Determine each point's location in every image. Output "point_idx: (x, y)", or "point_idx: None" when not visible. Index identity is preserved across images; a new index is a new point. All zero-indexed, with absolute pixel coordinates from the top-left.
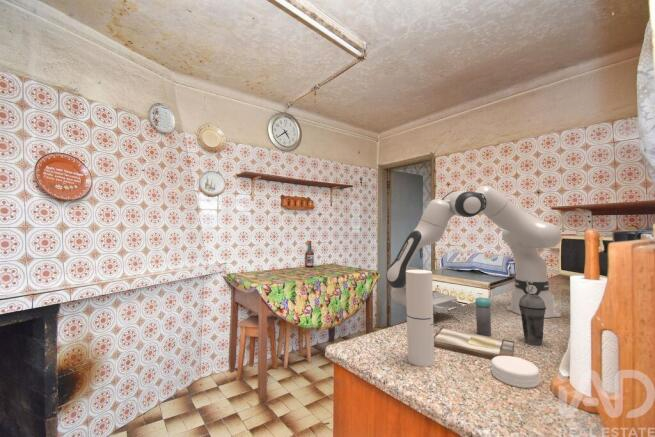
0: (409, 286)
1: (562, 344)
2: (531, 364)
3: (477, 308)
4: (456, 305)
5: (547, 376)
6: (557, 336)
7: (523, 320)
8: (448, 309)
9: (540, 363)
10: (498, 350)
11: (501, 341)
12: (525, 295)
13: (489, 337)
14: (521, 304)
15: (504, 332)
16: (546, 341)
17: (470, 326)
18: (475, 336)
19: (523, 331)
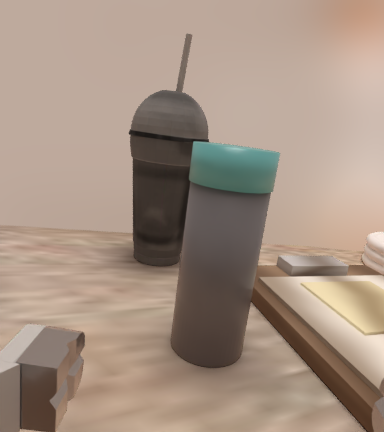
0: None
1: (116, 232)
2: (377, 234)
3: (265, 211)
4: (54, 396)
5: (334, 249)
6: (46, 232)
7: (187, 193)
8: (382, 385)
9: (289, 253)
10: (360, 277)
11: (282, 277)
12: (188, 98)
13: (287, 298)
14: (201, 134)
15: (107, 300)
16: (118, 244)
17: (117, 427)
18: (339, 326)
19: (170, 234)
